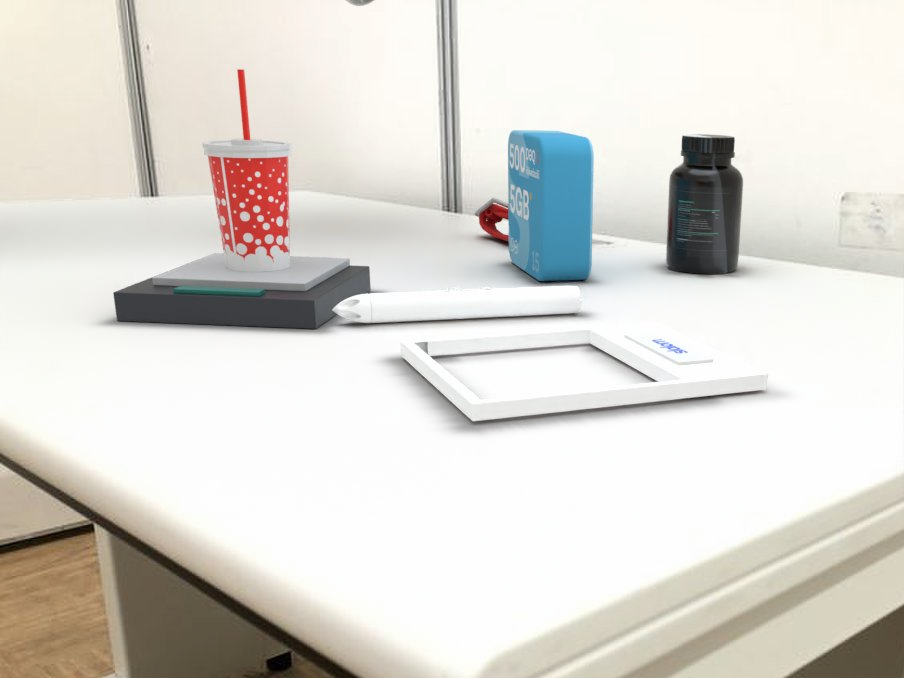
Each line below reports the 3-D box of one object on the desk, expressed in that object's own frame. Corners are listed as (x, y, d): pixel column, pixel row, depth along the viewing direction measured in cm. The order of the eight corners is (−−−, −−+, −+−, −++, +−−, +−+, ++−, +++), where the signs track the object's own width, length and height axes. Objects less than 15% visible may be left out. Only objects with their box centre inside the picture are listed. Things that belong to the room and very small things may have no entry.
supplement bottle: (684, 259, 109) (690, 132, 105) (749, 267, 106) (757, 136, 102) (653, 269, 103) (657, 135, 99) (719, 277, 100) (727, 139, 96)
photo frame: (768, 371, 64) (472, 400, 57) (767, 389, 65) (472, 421, 57) (656, 319, 77) (400, 338, 69) (655, 335, 77) (400, 355, 70)
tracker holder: (589, 226, 120) (585, 215, 110) (578, 266, 121) (573, 258, 111) (481, 196, 120) (467, 182, 110) (471, 236, 120) (456, 225, 111)
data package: (508, 261, 105) (507, 128, 101) (554, 260, 106) (554, 129, 102) (541, 284, 94) (542, 137, 90) (592, 282, 96) (594, 138, 92)
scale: (116, 320, 77) (111, 283, 76) (200, 284, 90) (196, 251, 89) (316, 329, 76) (313, 291, 75) (370, 290, 89) (369, 258, 88)
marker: (334, 328, 77) (332, 294, 76) (331, 321, 78) (329, 288, 78) (581, 315, 83) (581, 284, 82) (572, 310, 85) (572, 279, 84)
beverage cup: (317, 264, 85) (303, 71, 80) (261, 276, 80) (243, 70, 75) (255, 257, 87) (238, 68, 82) (197, 268, 82) (175, 67, 77)
